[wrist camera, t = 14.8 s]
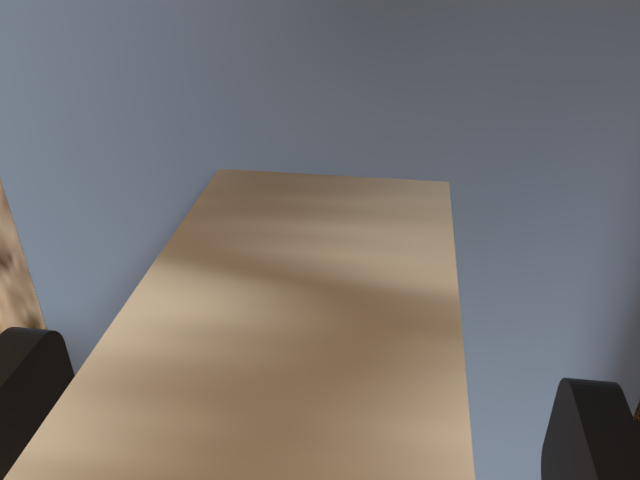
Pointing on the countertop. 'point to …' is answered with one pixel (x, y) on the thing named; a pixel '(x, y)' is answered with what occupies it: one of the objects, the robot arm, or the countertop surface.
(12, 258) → the countertop surface
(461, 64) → the pad
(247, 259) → the maple block
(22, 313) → the countertop surface
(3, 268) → the countertop surface
